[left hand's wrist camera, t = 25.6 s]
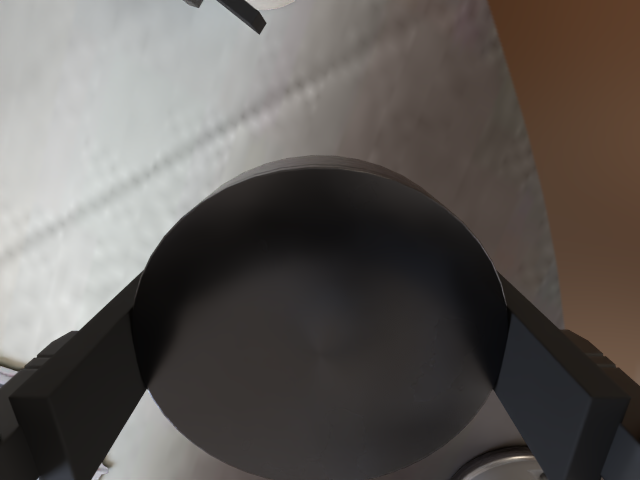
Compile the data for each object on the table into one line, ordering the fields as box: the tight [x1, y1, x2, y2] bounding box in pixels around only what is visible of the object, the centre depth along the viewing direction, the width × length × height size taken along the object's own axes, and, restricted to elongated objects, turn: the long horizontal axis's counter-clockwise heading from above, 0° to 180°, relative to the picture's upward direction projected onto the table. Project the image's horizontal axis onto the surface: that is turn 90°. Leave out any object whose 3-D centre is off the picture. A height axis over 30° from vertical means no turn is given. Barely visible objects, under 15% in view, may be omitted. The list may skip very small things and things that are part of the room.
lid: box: [132, 155, 508, 480], centre depth 11 cm, size 10×10×2 cm
